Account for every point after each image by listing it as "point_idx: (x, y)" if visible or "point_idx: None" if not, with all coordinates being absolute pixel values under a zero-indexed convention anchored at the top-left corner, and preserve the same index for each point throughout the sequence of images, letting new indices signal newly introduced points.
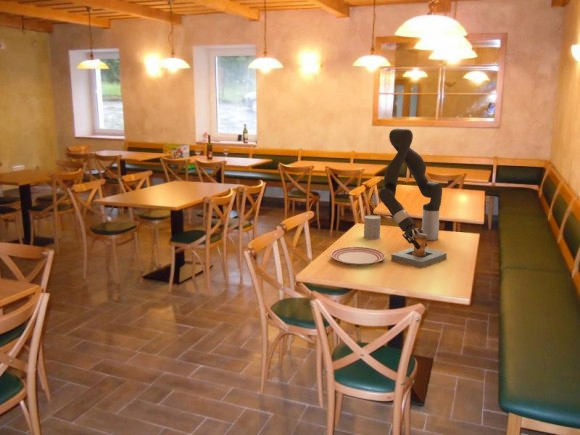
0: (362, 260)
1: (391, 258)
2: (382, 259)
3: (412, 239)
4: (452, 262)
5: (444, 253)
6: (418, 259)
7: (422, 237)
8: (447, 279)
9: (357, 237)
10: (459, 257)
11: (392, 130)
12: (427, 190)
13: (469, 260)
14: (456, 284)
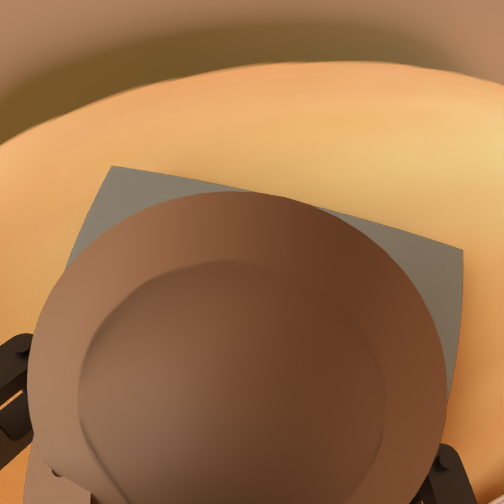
0: None
1: None
2: (497, 499)
3: (448, 466)
4: (196, 137)
5: (128, 173)
6: (431, 301)
7: (385, 276)
8: (467, 121)
9: None
10: (80, 145)
11: None
12: None
13: (122, 96)
14: (475, 98)
